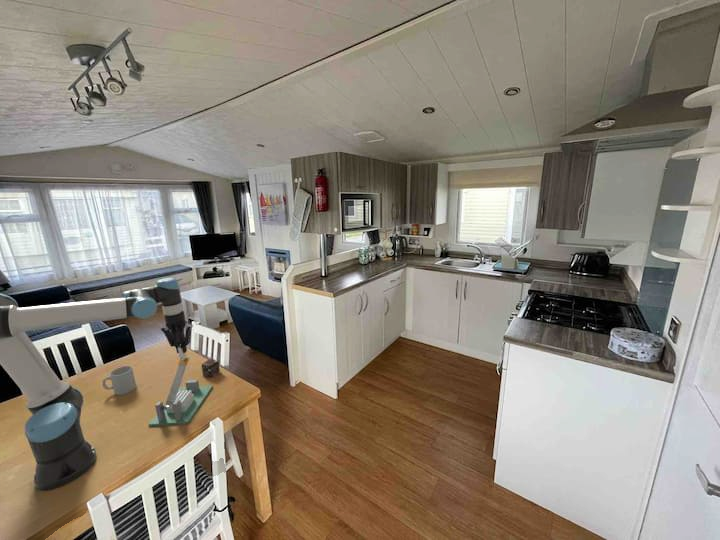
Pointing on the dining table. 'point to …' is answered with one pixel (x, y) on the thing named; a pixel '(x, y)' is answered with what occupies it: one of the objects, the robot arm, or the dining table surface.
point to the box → (210, 368)
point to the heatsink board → (182, 405)
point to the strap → (175, 384)
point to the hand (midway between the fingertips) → (183, 358)
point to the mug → (121, 380)
